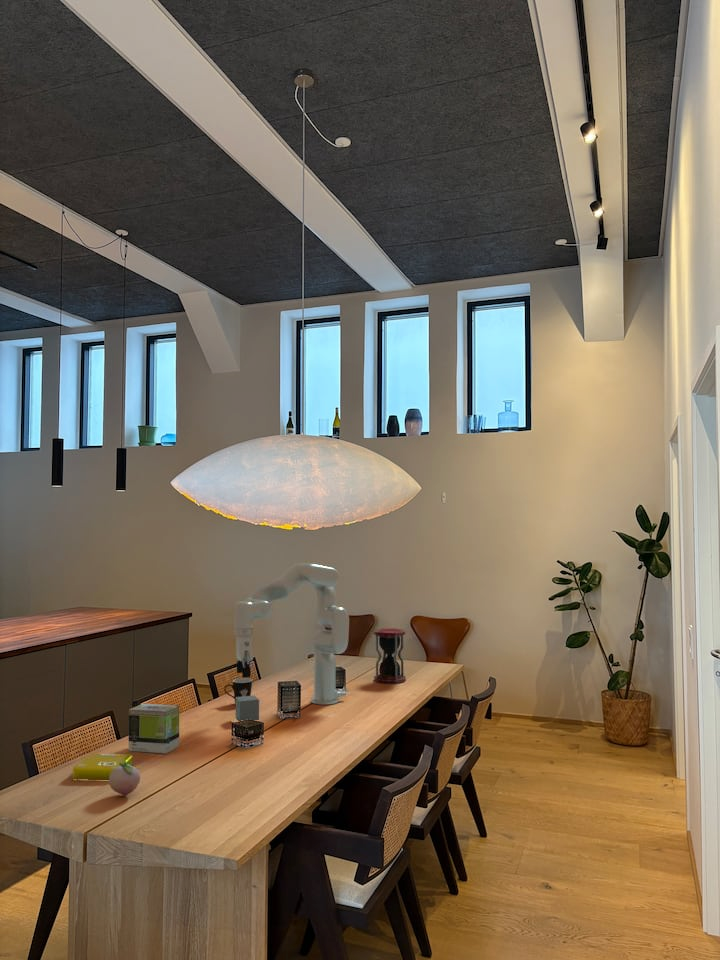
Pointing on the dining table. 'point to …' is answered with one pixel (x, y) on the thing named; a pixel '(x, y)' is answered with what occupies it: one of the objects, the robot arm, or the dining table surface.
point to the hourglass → (389, 656)
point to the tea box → (154, 728)
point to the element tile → (99, 766)
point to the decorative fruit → (124, 778)
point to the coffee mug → (241, 688)
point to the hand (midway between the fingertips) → (243, 674)
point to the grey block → (247, 708)
